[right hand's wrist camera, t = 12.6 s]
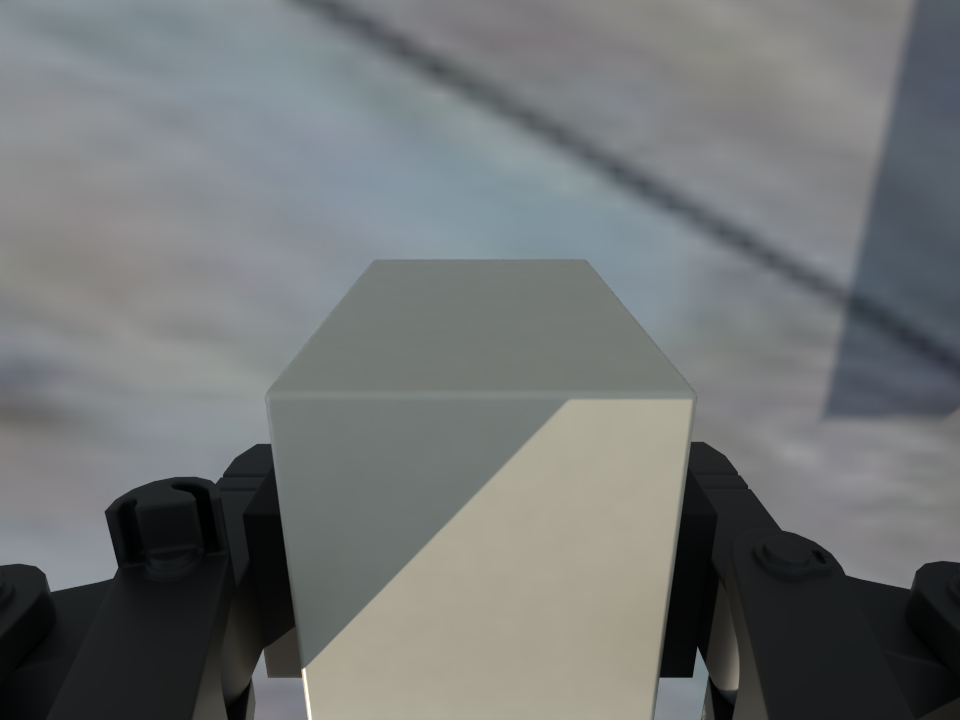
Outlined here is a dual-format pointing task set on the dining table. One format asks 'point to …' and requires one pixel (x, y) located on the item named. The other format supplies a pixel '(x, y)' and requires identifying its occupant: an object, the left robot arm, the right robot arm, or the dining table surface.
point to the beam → (480, 495)
